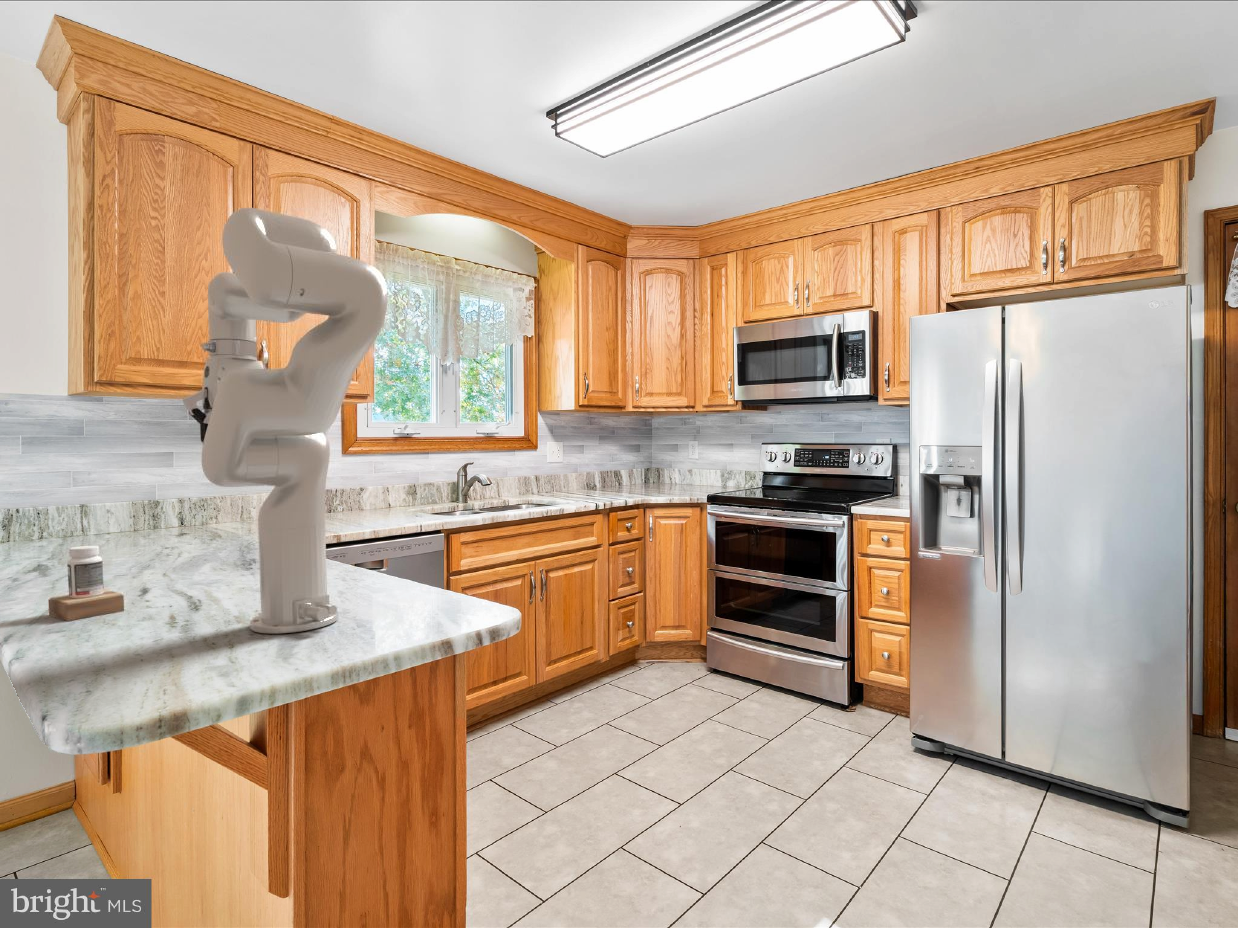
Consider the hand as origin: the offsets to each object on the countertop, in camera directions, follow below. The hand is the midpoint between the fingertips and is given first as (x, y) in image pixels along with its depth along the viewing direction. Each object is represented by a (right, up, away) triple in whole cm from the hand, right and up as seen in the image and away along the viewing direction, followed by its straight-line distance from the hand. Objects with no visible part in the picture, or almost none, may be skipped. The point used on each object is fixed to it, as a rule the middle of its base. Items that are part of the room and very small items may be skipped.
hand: (236, 446), depth 124 cm
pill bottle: (-22, -26, -8) cm, 35 cm away
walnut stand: (-22, -29, -7) cm, 37 cm away
